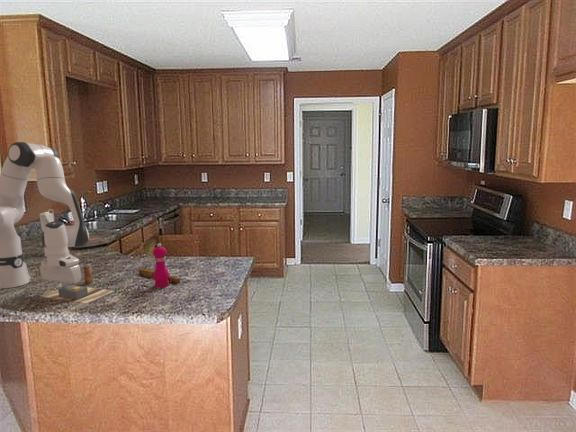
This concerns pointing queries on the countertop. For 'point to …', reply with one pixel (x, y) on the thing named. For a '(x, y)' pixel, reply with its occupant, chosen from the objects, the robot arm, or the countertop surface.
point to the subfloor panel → (92, 295)
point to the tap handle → (150, 273)
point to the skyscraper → (45, 219)
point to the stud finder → (73, 292)
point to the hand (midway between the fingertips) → (62, 290)
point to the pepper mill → (160, 267)
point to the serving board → (95, 241)
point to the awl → (88, 273)
